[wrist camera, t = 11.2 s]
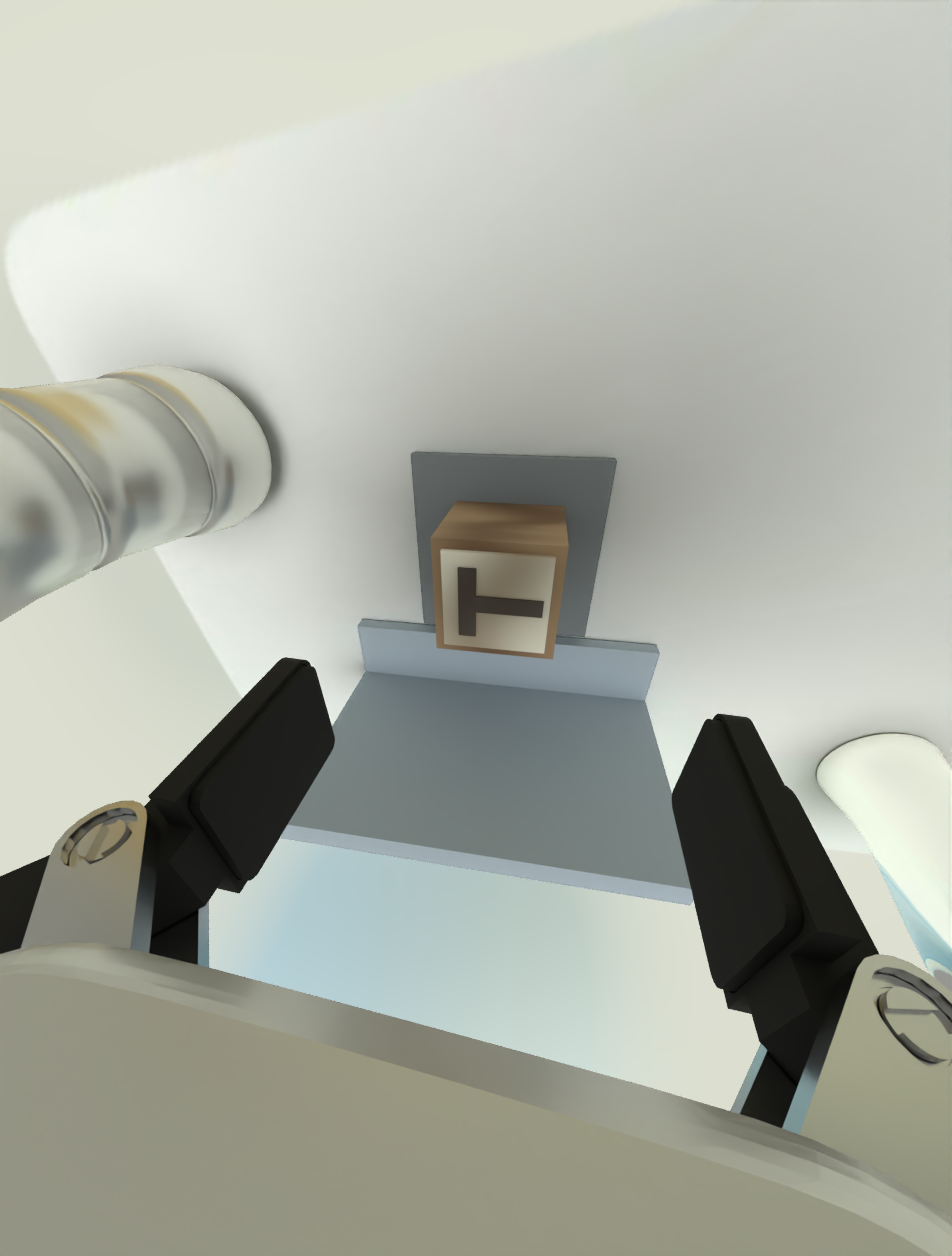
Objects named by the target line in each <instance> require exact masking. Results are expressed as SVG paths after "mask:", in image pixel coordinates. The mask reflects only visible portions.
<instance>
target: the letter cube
mask: <svg viewBox="0 0 952 1256" xmlns="http://www.w3.org/2000/svg"><path fill="white" fill-rule="evenodd" d="M430 539H431V556H432V574H433V592H434V610H435V627H436V645H437V648H440V649H450V650H461V651H471V652H481V653H491V654H502V655H512V656H522V657H532V658H542V659H553V655H554V648H555V641H556V634H557V627H558V620H559V613H560V606H561V598H562V591H563V584H564V577H565V570H566V563H567V556H568V549H569V543H568V534H567V525H566V516H565V507H564V506H551V505H532V504H512V503H492V502H473V501H456V502H455V504H454V505H453V507H452V508H451V509H450V511H449V512H448V514H447V515H446V516H445V518H444V519H443V521H442V522H441V523H440V525H439V526H438V528H437V529H436V531H435V532H434V533H433V535H432V536H431V538H430Z"/></svg>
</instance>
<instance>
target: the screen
mask: <svg viewBox="0 0 952 1256" xmlns="http://www.w3.org/2000/svg"><path fill="white" fill-rule="evenodd" d="M358 632H359V637H360V642H361V648H362V653H363V659H364V664H365V669H366V672H365V674H364V675H363V677H362V679H361V680H360V682H359V683H358V685H357V687H356V688H355V690H354V692H353V693H352V695H351V697H350V698H349V700H348V702H347V703H346V705H345V706H344V708H343V710H342V711H341V713H340V715H339V716H338V718H337V720H336V721H335V723H334V725H333V726H332V729H333V733H334V736H335V744H334V748H333V750H332V752H331V754H330V755H329V757H328V759H327V760H326V762H325V764H324V765H323V767H322V769H321V770H320V772H319V774H318V775H317V777H316V779H315V780H314V782H313V783H312V785H311V787H310V788H309V790H308V792H307V793H306V795H305V797H304V798H303V800H302V802H301V803H300V805H299V807H298V808H297V810H296V812H295V813H294V815H293V816H292V818H291V820H290V821H289V823H288V825H287V826H286V828H285V830H284V831H283V833H282V835H281V838H283V839H289V840H295V841H302V842H308V843H314V844H320V845H326V846H332V847H338V848H344V849H351V850H356V851H363V852H368V853H374V854H380V855H387V856H393V857H399V858H405V859H411V860H418V861H423V862H429V863H435V864H441V865H447V866H453V867H459V868H466V869H472V870H478V871H484V872H490V873H496V874H502V875H508V876H515V877H520V878H526V879H532V880H539V881H545V882H551V883H557V884H563V885H569V886H575V887H581V888H588V889H593V890H600V891H605V892H611V893H618V894H624V895H630V896H636V897H642V898H648V899H655V900H660V901H667V902H672V903H678V904H685V905H690V904H691V903H692V902H693V900H694V899H693V895H692V891H691V886H690V882H689V878H688V873H687V869H686V865H685V861H684V856H683V852H682V848H681V843H680V839H679V835H678V831H677V826H676V822H675V818H674V813H673V809H672V793H671V790H670V786H669V783H668V779H667V776H666V772H665V769H664V765H663V762H662V758H661V755H660V751H659V748H658V744H657V741H656V738H655V734H654V731H653V727H652V724H651V720H650V717H649V713H648V710H647V706H646V703H645V699H646V695H647V692H648V689H649V686H650V683H651V680H652V676H653V673H654V670H655V667H656V664H657V661H658V657H659V654H660V653H659V650H658V648H657V645H650V644H639V643H628V642H616V641H605V640H593V639H582V638H571V637H559V636H556V641H555V648H554V655H553V659H542V658H532V657H522V656H512V655H502V654H491V653H481V652H471V651H461V650H450V649H440V648H437V645H436V627H435V625H423V624H412V623H401V622H389V621H378V620H366V619H363V620H362V621H361V622H360V624H359V625H358Z"/></svg>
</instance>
